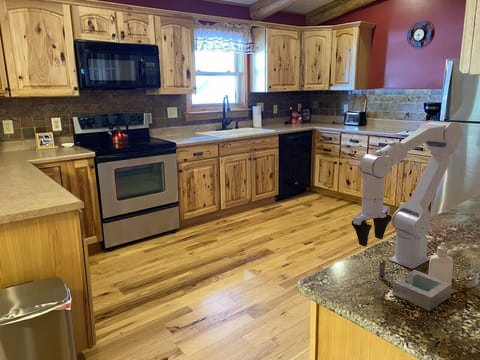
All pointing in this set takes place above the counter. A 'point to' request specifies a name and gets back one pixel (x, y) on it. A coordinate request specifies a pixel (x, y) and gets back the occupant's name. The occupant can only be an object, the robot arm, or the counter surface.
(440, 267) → the eye dropper bottle
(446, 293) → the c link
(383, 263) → the pin
